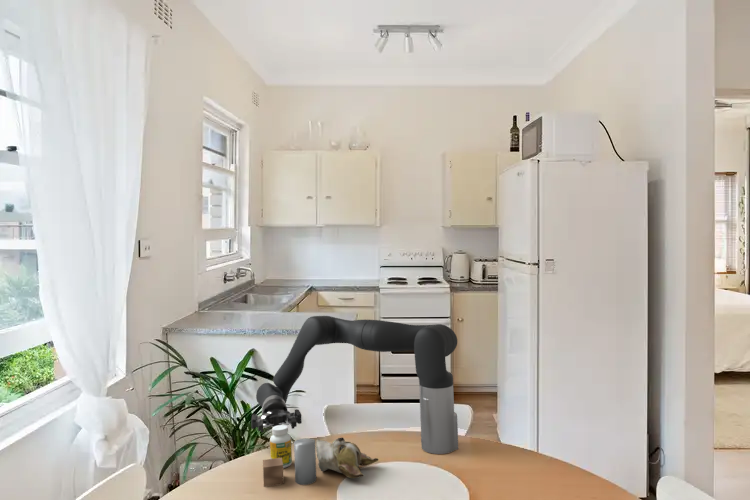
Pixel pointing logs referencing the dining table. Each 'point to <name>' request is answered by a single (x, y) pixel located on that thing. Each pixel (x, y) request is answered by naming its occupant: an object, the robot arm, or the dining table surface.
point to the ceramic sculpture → (342, 457)
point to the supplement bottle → (281, 445)
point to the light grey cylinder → (305, 461)
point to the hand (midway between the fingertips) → (277, 426)
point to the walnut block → (273, 472)
